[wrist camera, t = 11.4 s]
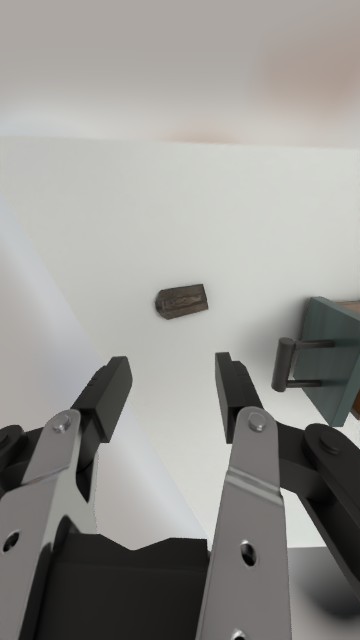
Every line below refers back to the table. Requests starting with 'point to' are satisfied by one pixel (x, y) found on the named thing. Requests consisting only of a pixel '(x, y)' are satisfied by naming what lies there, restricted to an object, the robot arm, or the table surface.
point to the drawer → (325, 360)
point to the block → (181, 301)
